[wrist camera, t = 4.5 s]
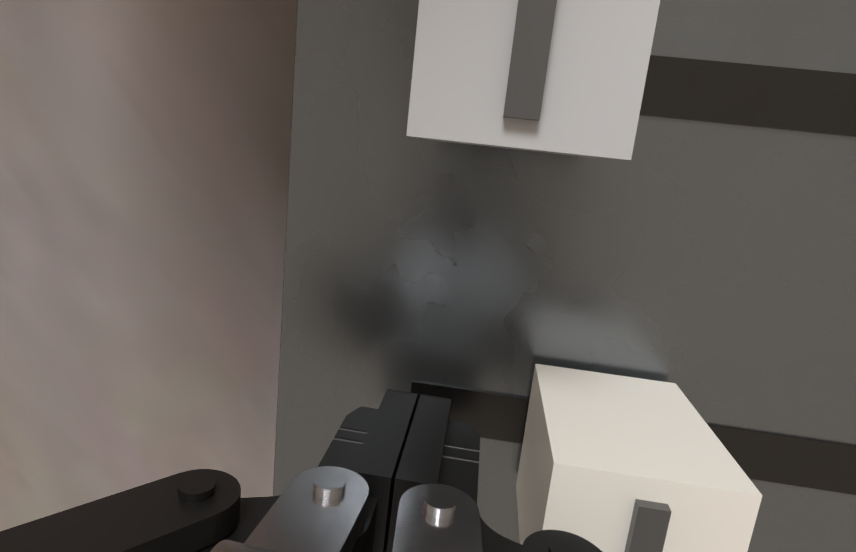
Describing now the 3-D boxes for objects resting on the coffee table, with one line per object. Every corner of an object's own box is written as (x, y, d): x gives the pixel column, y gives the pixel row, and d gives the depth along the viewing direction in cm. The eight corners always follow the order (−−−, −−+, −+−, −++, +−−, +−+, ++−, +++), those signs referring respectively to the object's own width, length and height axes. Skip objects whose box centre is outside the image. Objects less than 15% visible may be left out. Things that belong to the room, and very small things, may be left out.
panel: (355, -118, 16) (262, -297, 9) (1449, -43, 13) (2288, -212, 7) (314, 472, 20) (230, 621, 13) (1148, 608, 17) (1514, 864, 11)
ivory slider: (535, 363, 13) (555, 470, 9) (675, 382, 13) (768, 502, 9) (516, 484, 14) (525, 639, 10) (648, 506, 14) (721, 675, 9)
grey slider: (453, -17, 12) (428, -118, 7) (609, -4, 12) (682, -101, 7) (436, 140, 13) (403, 135, 8) (583, 156, 12) (633, 159, 8)
